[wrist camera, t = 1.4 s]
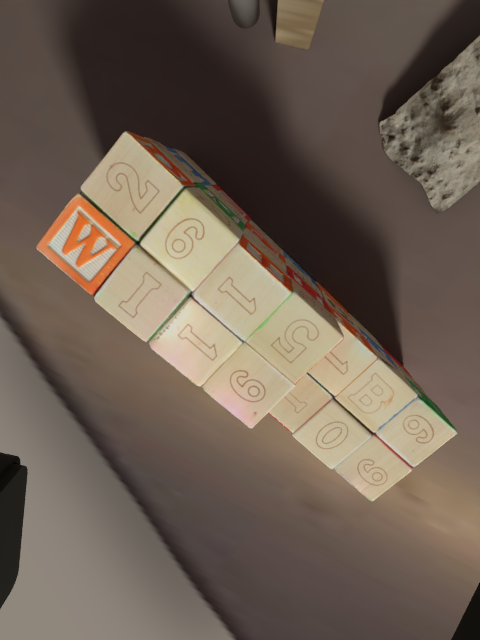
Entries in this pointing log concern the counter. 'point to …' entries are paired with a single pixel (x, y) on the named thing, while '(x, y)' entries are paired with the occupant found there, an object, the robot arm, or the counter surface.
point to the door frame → (297, 22)
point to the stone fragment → (441, 131)
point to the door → (245, 12)
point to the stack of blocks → (240, 314)
